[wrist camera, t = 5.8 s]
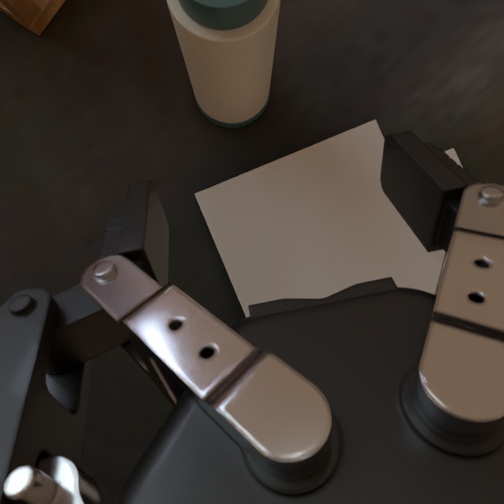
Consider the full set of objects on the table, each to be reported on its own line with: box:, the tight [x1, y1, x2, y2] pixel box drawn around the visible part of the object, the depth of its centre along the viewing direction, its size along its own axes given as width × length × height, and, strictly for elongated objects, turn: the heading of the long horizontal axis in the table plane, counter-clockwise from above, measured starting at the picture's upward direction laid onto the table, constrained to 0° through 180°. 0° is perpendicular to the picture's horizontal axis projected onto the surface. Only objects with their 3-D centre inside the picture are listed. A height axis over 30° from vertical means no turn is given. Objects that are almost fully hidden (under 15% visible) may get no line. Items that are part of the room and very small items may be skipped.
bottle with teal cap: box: [167, 0, 280, 128], centre depth 22 cm, size 6×6×12 cm
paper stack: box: [195, 120, 463, 318], centre depth 27 cm, size 23×25×1 cm
